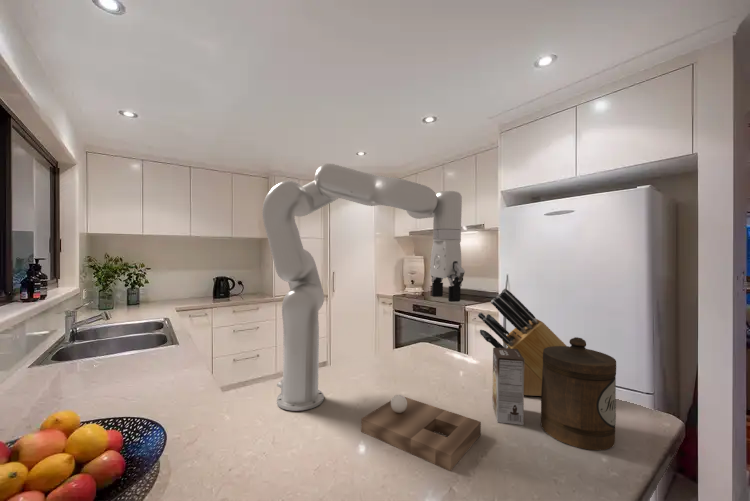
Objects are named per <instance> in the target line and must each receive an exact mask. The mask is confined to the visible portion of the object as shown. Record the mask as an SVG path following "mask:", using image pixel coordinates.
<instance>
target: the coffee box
mask: <svg viewBox="0 0 750 501" xmlns="http://www.w3.org/2000/svg"><path fill="white" fill-rule="evenodd" d="M524 398H525V395H524V358H523V357H522V355H521V354H520V352H519V351H518V349H509V348H507V347H504V348H495V347H492V409H493V411H494V412H493V413H494V416H495V419H496V422H497V423H500V424H501V423H502V424H512V425H519V426H520V425H521V426H524V407H525V406H524V404H525V403H524V402H525V401H524Z"/></svg>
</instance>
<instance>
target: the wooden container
mask: <svg viewBox="0 0 750 501" xmlns="http://www.w3.org/2000/svg"><path fill="white" fill-rule="evenodd" d="M569 345H570V346H567V345H566V346H551V347H547V348H545V349H544V350H543V371H542V390H541V396H540V426H541V429H542V430H544V432H545V433H546V434H547V435H548V436H550V437H552V438H554V440H557V441H559V442H561V443H563V444H565V445H569V446H571V447H575V448H579V449H582V450H589V451H605V450H608V449H611V448H613V447H614V446H615V443H616V425H617V424H616V418H617V404H616V402H617V400H616V399H617V393H616V390H617V389H616V387H617V386H616V384H617V383H616V382H617V381H616V379H617V378H616V375H617V360H616V359H615V358H614V357H613V356H610V355H609V354H606V353H605V352H601V351H597V350H594V349H588V348H586V347H587V341H586V340H585V339H583V338H582V337H578V336H576V337H575V336H574V337H573V338H572V337H571V339H569Z"/></svg>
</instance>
